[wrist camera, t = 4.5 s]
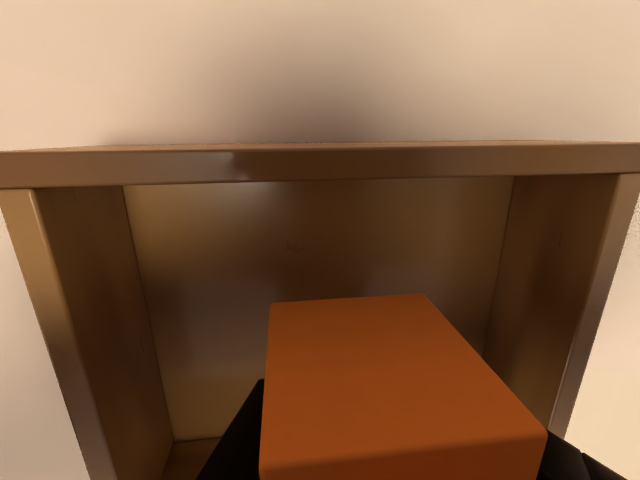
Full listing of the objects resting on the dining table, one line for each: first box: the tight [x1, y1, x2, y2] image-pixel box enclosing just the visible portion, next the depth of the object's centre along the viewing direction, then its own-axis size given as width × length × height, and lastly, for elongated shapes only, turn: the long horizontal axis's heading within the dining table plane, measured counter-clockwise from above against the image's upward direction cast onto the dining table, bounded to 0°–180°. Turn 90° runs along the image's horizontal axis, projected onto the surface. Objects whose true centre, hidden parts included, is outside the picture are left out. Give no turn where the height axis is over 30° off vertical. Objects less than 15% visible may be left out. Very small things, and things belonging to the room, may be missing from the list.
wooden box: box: [0, 140, 640, 480], centre depth 11 cm, size 12×14×4 cm
